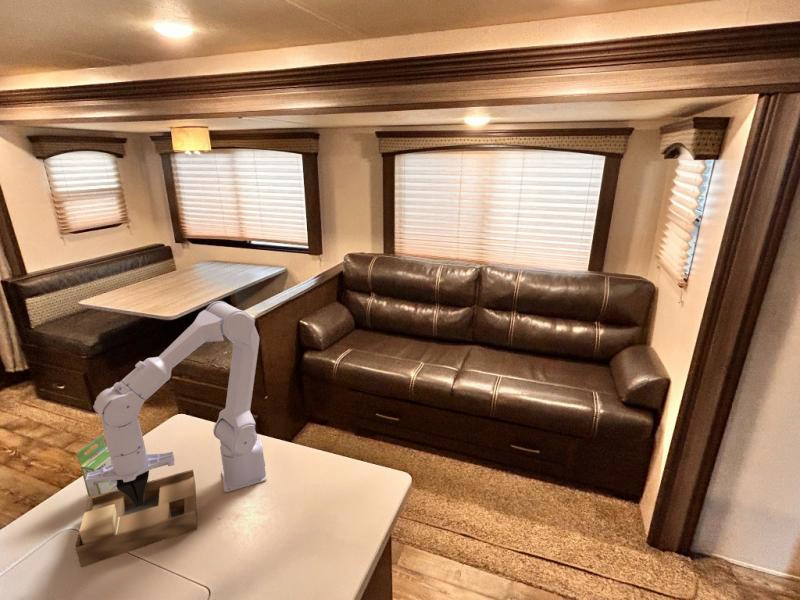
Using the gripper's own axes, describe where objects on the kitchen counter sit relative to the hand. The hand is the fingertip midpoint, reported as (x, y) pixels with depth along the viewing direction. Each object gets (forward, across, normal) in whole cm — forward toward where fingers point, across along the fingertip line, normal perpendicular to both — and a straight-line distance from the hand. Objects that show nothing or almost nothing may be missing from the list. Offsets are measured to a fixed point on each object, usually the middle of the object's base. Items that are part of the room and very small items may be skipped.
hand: (140, 502), depth 84 cm
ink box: (+8, -9, +16) cm, 20 cm away
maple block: (+4, -7, 0) cm, 9 cm away
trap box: (+8, -1, +3) cm, 8 cm away
